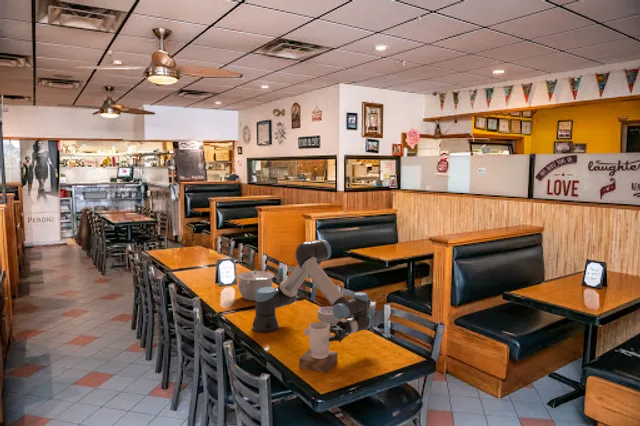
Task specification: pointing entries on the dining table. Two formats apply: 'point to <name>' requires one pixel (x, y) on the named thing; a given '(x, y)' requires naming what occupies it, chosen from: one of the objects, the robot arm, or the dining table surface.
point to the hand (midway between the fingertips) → (313, 336)
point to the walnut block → (318, 362)
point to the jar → (319, 339)
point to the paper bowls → (327, 315)
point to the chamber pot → (253, 283)
